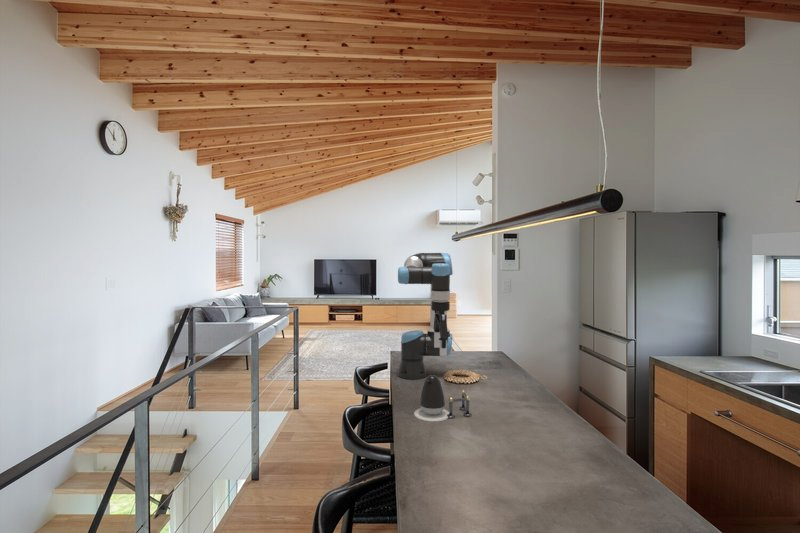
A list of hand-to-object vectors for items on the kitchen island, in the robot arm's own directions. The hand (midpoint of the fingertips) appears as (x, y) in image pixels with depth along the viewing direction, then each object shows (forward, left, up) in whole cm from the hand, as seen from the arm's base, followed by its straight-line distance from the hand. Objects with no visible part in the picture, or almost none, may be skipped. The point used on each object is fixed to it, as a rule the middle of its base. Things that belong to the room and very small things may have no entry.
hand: (440, 351), depth 177 cm
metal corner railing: (+7, +6, -23) cm, 25 cm away
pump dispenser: (+8, -5, -23) cm, 25 cm away
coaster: (+8, -5, -24) cm, 25 cm away
